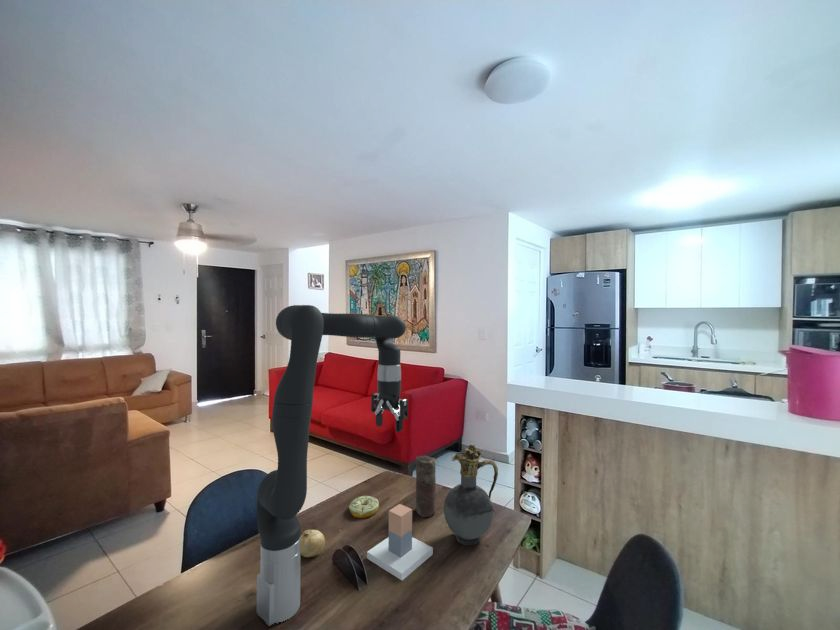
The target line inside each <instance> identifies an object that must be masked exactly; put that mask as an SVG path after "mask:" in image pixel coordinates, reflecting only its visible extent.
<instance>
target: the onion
mask: <svg viewBox="0 0 840 630" xmlns="http://www.w3.org/2000/svg"><path fill="white" fill-rule="evenodd" d="M325 544H326V538H325V535H324V534H323V532H321V531H319V530H318V529H310V528H309V529H306V530H304V531H303V533H302V535H301V546H300V556H302V557H304V558H313V557H317V556H318V555H320V554H321V552H322V551H323V549H324V547H325Z"/></svg>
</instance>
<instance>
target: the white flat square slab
mask: <svg viewBox="0 0 840 630" xmlns="http://www.w3.org/2000/svg"><path fill="white" fill-rule="evenodd" d="M388 548H389V536H388V537H386V538H385V539H384V540H382V541H380V542H379V543H378V544H375V546H374V547H371V549H368V551H367V552H366V559H367V560H369V561H371V562H372V563H374V564H375V565H377V566H378V567H379V568H381V569H383V570H385V571H386V572H387V573H389V574H391V575H392V576H394V577H396V578H397V579H399V581H404V580H405V579H406V578H407V577H408V576H410V574H412V573H414V571H415V570H417V569H418V568H419V567H420V566H421V565H422V564H424V563H425V562H426V561H427V560H428V559H429V558H431V557H432V556H433V554H434V552H433V551H434V548H433V547H432V546H430V545H428V544H427V543H424V542H423V541H420V540H418V539H417V538H415V537H413V536H412V549H411V550H410V551H409V552H408V553H406V554H405V555H404V556H402V557H401V558H400V557H399V556H397V555H395V554H394V553H392V552H390V551H388Z"/></svg>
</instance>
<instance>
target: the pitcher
mask: <svg viewBox="0 0 840 630" xmlns="http://www.w3.org/2000/svg"><path fill="white" fill-rule="evenodd" d="M464 451H465V452H464ZM464 451H463V452H457V453H456V452H455V455H453V457H451V461H452V462H455V461H458V463H459V465H460V472H459V473H460V484H457V485H456V486H454V487H453V488H452V489H450V490H449V491H448V493H447V495H446V497H445V499H444V504H443V515H444V518H445V522H446V525H447V526H448V528H449V529H450V530H451V532H452V533H453V534H454V535H455V539H456V541H457V542H458V543H459V544H460V545H463V546H473V545H476V544H478V543H479V542H480V541H481V537H482V536H483V535H485V533H487V532H488V531H489V530H490V528H491V525H492V522H493V520H494V519H493V518H494V513H495V509H494V507H493V504H492V499H491V498H492V497H491V496H492V492H493V490H494V488H495V486H496V483H497V480H498V475H499V467H498V466H497V465H498V464H497V463H496V462H495V461H494V460H492V459H484V460H482V461H479V460H480V459H481V457H482V452H483V450H479V449H478V448H476V445H475V444H469V445H467V446H466V448H465V450H464ZM487 465H489V466H490V465H491V466H492V468H493V471H494V474H493V481H492V484H491V486H490V490H489V492H488V493H487V492H486V490H485V489H483V488H482V487H480V486H478V485H477V476H478V470H479V469H481V468H483V467H485V466H487Z"/></svg>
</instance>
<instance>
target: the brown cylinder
mask: <svg viewBox="0 0 840 630" xmlns="http://www.w3.org/2000/svg"><path fill="white" fill-rule="evenodd" d="M415 475H416V476H415V484H416V485H415V509H416V512H417V514H418V515H419V516H420V517H421V518H426V517H427V518H428V517H432V515H434V514H436V512H437V497H436V496H437V493H436V489H437V488H436V486H437V485H436V478H437V477H436V458H435V457H431V456H428V455H420V456H416V457H415Z"/></svg>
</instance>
